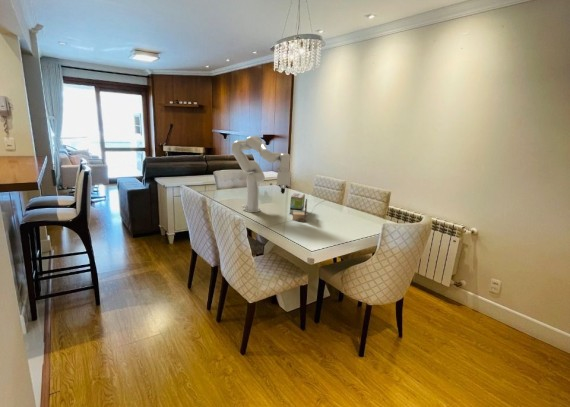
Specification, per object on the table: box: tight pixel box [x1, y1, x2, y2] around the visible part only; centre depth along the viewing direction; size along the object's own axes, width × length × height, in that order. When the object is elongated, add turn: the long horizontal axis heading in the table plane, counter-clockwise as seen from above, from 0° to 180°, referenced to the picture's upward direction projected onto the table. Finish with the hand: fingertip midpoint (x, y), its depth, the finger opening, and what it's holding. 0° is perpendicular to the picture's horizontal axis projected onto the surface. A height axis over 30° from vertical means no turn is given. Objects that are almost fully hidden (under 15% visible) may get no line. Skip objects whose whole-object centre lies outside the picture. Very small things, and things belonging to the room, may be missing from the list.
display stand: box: [297, 198, 308, 223], centre depth 240 cm, size 6×19×14 cm, turn 175°
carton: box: [292, 210, 305, 221], centre depth 241 cm, size 9×12×5 cm
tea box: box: [289, 192, 306, 215], centre depth 257 cm, size 15×10×15 cm, turn 168°
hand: (282, 193), depth 238 cm, fingers closed
